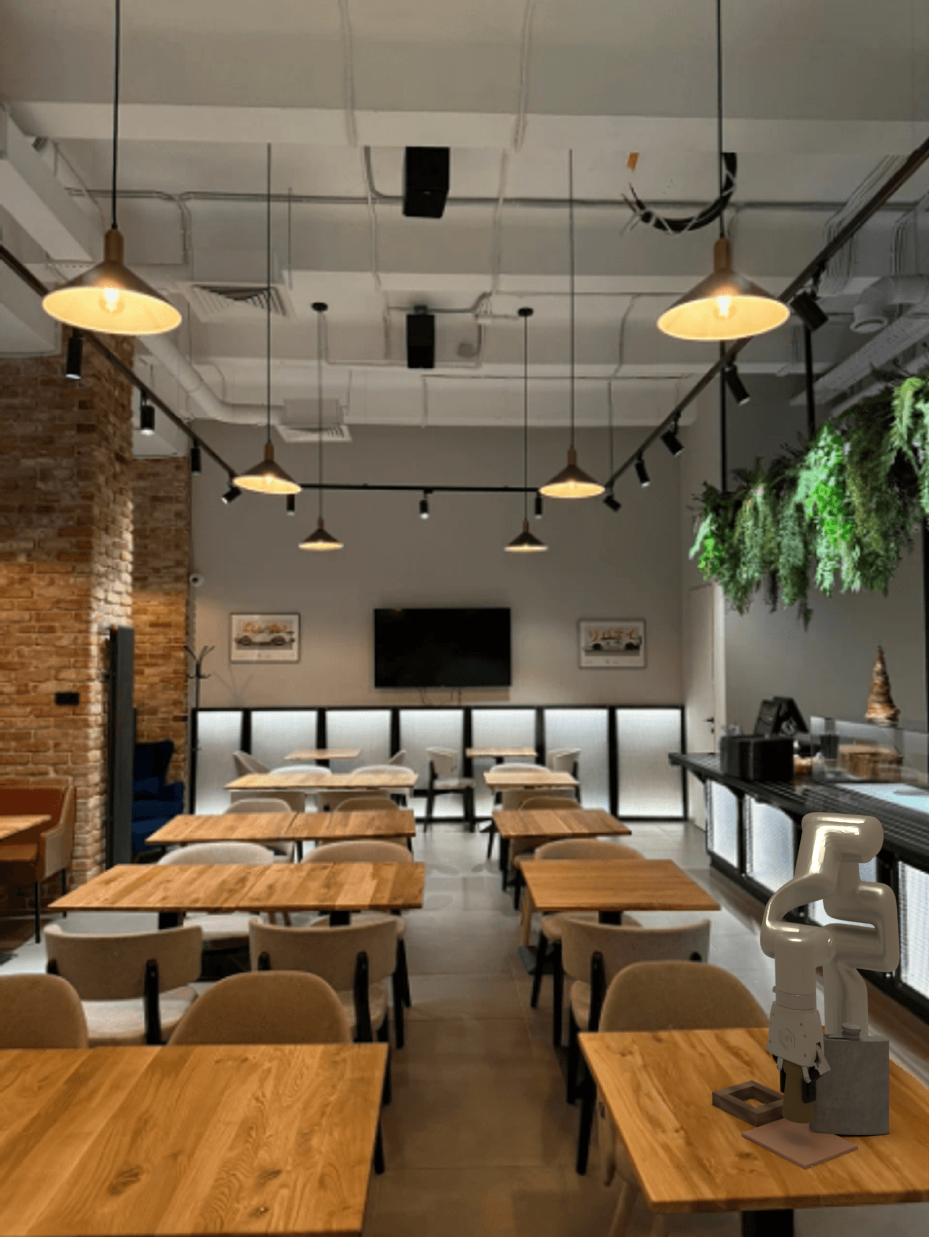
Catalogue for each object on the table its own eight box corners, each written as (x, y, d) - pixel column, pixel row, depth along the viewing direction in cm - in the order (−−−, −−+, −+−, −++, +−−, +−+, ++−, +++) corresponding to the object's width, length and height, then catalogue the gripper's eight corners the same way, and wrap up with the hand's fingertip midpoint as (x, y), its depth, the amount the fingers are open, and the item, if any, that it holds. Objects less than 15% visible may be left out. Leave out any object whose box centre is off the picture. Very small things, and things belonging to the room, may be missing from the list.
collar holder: (752, 1092, 203) (751, 1080, 203) (797, 1113, 193) (797, 1100, 193) (712, 1104, 197) (712, 1092, 197) (757, 1127, 186) (756, 1114, 187)
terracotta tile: (793, 1118, 190) (793, 1114, 191) (858, 1148, 178) (858, 1145, 178) (741, 1135, 183) (741, 1132, 183) (805, 1169, 170) (805, 1165, 170)
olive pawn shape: (812, 1111, 183) (810, 1052, 184) (817, 1124, 177) (816, 1064, 178) (779, 1108, 184) (778, 1050, 185) (783, 1121, 178) (782, 1061, 179)
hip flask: (883, 1126, 187) (884, 1022, 189) (894, 1135, 183) (894, 1029, 185) (806, 1125, 186) (807, 1020, 188) (815, 1134, 182) (816, 1027, 184)
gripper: (748, 990, 188) (750, 1084, 186) (819, 1014, 173) (822, 1117, 172) (774, 984, 192) (776, 1077, 190) (845, 1008, 177) (848, 1108, 176)
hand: (797, 1095), depth 181 cm, fingers closed on olive pawn shape, 4 cm apart
